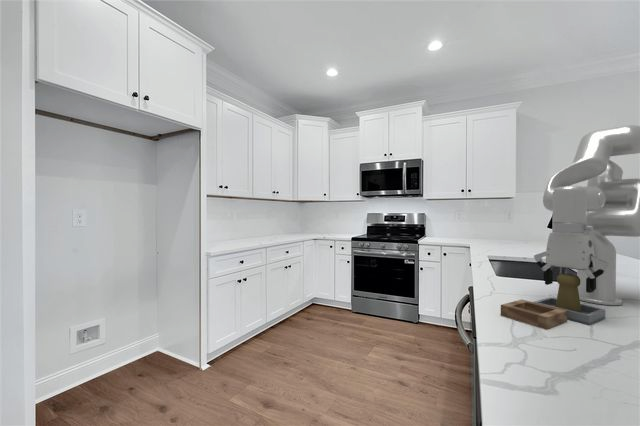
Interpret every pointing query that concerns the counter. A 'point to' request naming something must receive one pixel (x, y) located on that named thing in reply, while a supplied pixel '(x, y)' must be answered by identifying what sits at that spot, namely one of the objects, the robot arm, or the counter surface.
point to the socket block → (534, 313)
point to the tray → (586, 317)
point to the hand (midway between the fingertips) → (568, 287)
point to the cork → (568, 292)
